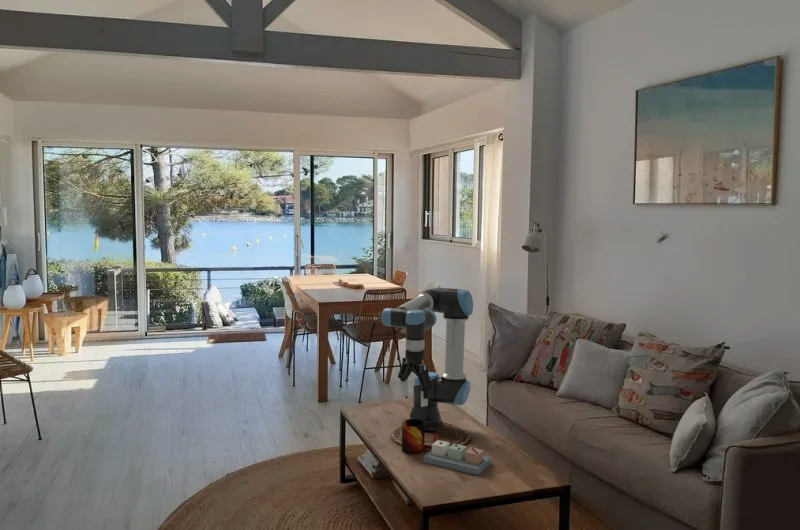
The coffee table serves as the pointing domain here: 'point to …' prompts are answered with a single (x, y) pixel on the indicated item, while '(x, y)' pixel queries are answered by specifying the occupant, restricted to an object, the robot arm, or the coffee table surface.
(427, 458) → the keypad board
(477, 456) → the key three
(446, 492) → the coffee table surface
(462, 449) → the key two
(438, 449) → the key one
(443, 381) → the robot arm
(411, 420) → the mug
